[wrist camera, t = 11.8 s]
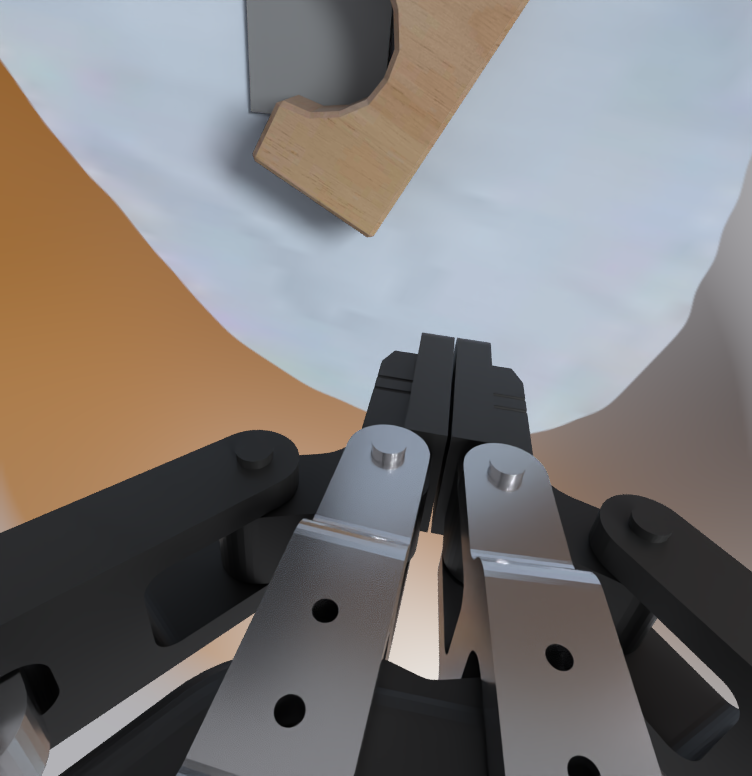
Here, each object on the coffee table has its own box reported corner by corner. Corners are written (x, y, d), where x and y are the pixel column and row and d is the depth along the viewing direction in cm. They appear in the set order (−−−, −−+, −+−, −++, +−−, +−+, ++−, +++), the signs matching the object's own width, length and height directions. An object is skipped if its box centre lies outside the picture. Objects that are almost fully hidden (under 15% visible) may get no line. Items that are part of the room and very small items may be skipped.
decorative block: (247, 157, 40) (396, -159, 30) (270, 146, 45) (404, -130, 35) (369, 242, 42) (546, -26, 32) (378, 222, 47) (535, -16, 37)
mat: (245, -79, 37) (243, -81, 37) (399, -66, 36) (398, -67, 36) (252, 110, 44) (250, 111, 44) (382, 126, 43) (382, 126, 43)
